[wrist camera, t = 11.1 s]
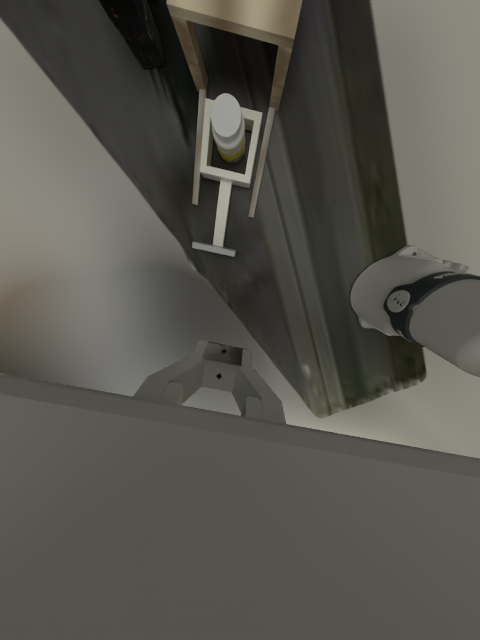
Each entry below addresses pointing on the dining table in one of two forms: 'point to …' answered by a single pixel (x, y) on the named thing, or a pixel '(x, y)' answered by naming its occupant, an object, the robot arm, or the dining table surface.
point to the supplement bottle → (228, 128)
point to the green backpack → (137, 29)
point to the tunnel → (244, 19)
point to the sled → (226, 175)
